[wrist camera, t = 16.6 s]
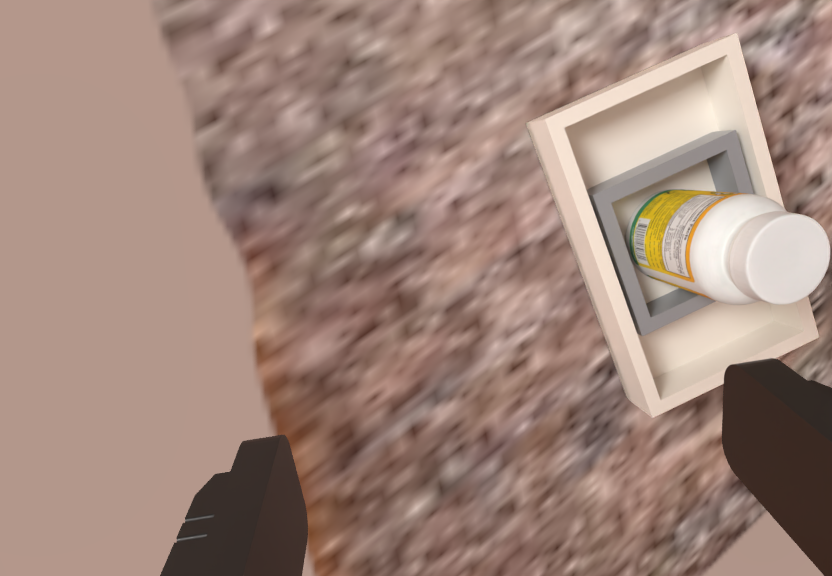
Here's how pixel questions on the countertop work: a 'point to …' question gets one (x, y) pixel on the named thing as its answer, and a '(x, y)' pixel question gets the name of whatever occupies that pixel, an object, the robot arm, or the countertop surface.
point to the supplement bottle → (728, 246)
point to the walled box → (645, 175)
